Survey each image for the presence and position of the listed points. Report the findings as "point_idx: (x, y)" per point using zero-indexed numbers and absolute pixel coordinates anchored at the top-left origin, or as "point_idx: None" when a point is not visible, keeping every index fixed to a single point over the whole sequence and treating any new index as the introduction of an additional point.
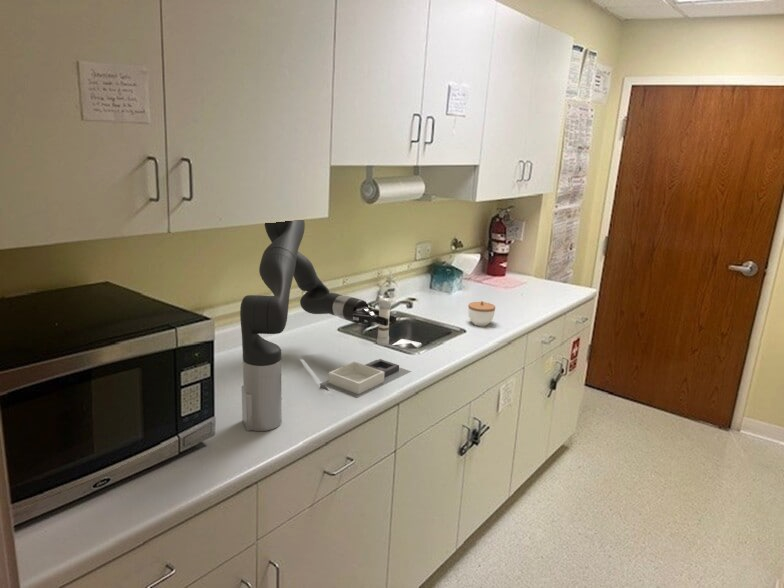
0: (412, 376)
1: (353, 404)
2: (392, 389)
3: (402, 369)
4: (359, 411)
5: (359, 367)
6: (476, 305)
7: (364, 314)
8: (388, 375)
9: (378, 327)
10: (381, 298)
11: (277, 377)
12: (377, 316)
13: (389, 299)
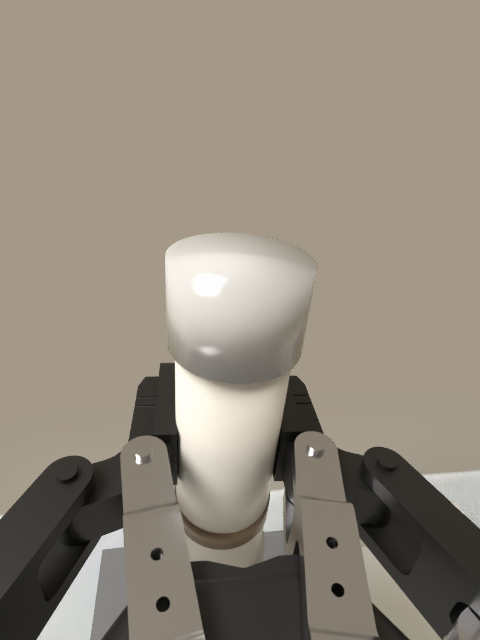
0: (114, 545)
1: (467, 515)
2: (277, 512)
3: (107, 598)
4: (459, 472)
5: None
6: None
7: (391, 622)
8: None
9: (266, 512)
10: (255, 279)
11: None
12: (299, 438)
13: (202, 241)
